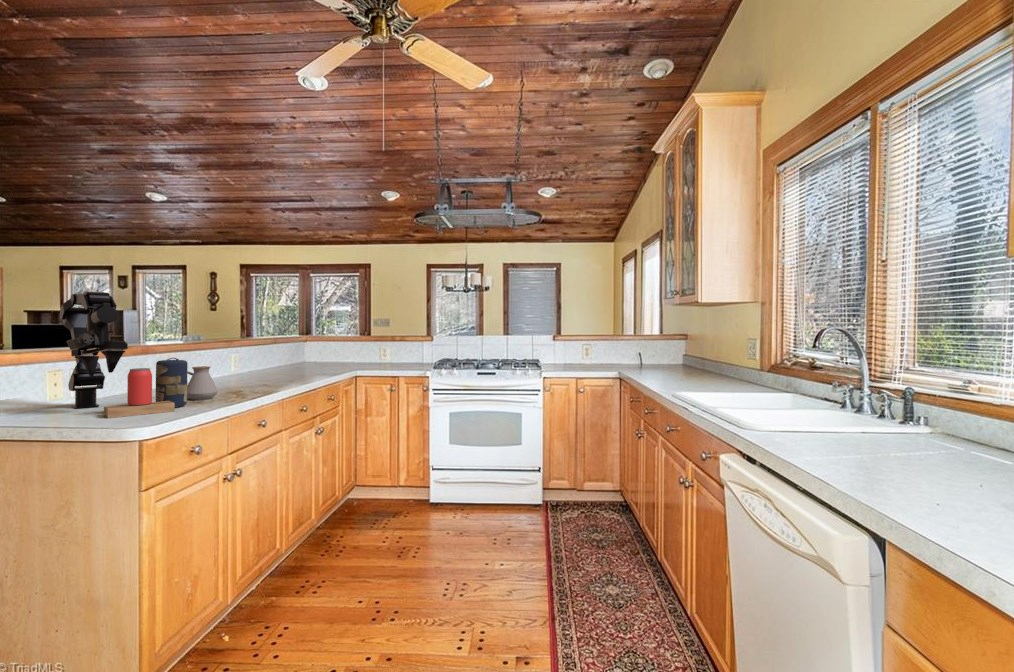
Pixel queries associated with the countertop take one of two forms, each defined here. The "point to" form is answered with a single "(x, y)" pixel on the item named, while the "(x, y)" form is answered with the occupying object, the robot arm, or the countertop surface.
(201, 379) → the coffee pot
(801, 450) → the countertop surface
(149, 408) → the walnut beam
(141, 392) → the beer can
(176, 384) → the canister
